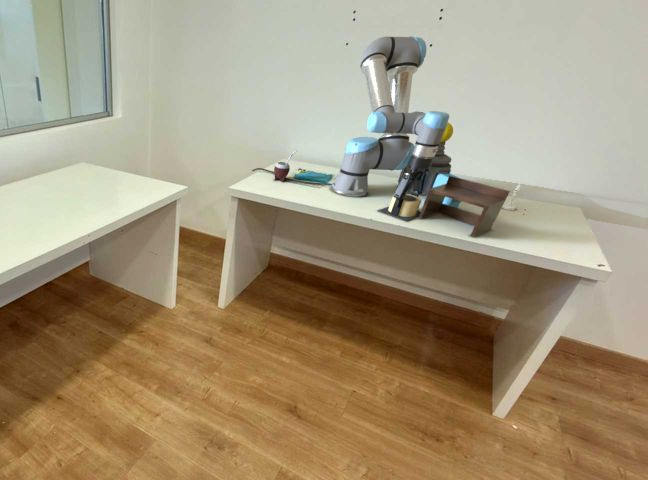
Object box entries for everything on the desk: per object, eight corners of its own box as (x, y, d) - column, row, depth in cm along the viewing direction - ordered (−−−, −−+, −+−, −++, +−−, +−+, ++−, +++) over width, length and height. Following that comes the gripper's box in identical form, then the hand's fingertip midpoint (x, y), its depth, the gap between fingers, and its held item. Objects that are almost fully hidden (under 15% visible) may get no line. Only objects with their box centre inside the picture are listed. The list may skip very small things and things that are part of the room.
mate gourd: (269, 178, 200) (275, 147, 192) (283, 176, 202) (289, 146, 194) (278, 183, 194) (284, 151, 186) (292, 181, 196) (298, 150, 188)
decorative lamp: (386, 184, 194) (409, 118, 178) (418, 181, 199) (442, 116, 183) (418, 198, 179) (446, 127, 163) (452, 194, 183) (482, 125, 167)
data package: (457, 210, 168) (469, 181, 161) (447, 210, 167) (459, 182, 161) (436, 199, 178) (448, 172, 171) (427, 199, 177) (438, 172, 171)
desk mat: (377, 211, 166) (377, 210, 166) (397, 204, 172) (397, 203, 172) (406, 221, 157) (406, 220, 157) (425, 214, 164) (426, 213, 163)
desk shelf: (418, 217, 160) (432, 181, 152) (435, 211, 166) (450, 175, 158) (473, 237, 146) (493, 197, 138) (490, 229, 152) (510, 191, 144)
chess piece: (512, 206, 172) (524, 183, 166) (516, 210, 168) (529, 187, 162) (498, 204, 173) (510, 182, 168) (502, 209, 169) (514, 185, 164)
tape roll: (407, 218, 159) (412, 203, 155) (383, 210, 166) (388, 195, 162) (421, 213, 163) (426, 199, 160) (397, 205, 170) (402, 191, 167)
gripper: (415, 162, 145) (394, 220, 157) (448, 154, 155) (426, 209, 167) (395, 157, 150) (376, 213, 162) (428, 150, 160) (408, 203, 172)
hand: (401, 211), depth 164 cm, fingers closed on tape roll, 10 cm apart
